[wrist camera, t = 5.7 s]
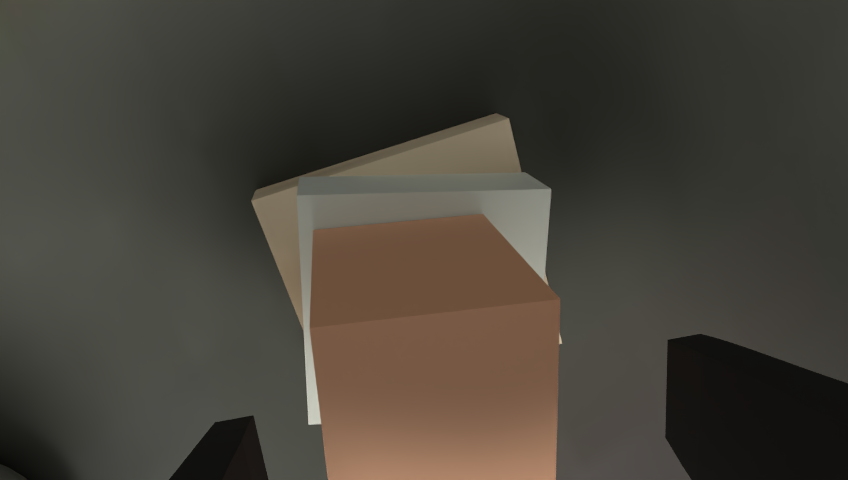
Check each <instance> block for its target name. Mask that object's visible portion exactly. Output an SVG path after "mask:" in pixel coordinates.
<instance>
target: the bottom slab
mask: <svg viewBox="0 0 848 480" xmlns="http://www.w3.org/2000/svg"><path fill="white" fill-rule="evenodd" d="M517 172H521V168H520V163H519V159H518V155H517V151H516V147H515V142H514V138H513V134H512V130H511V125H510V121H509V118H507V117H504V116H502V115H499V114H497V113H495V114H492V115H489V116H486V117H483V118H479V119H476V120H473V121H470V122H467V123H464V124H461V125H458V126H454V127H451V128H448V129H445V130H442V131H439V132H436V133H432V134H429V135H426V136H423V137H420V138H417V139H414V140H411V141H407V142H404V143H401V144H398V145H395V146H392V147H389V148H386V149H382V150H379V151H376V152H373V153H370V154H367V155H364V156H360V157H357V158H354V159H351V160H348V161H345V162H342V163H339V164H335V165H332V166H329V167H326V168H323V169H320V170H317V171H314V172H310V173H307V174H304V175H301V176H298V177H295V178H292V179H289V180H285V181H282V182H279V183H276V184H273V185H270V186H267V187H263V188H260V189H257V190H256V191H255V193H254V195H253V198H252V200H251V202H252V204H253V207H254V209H255V212H256V214H257V217H258V219H259V222H260V224H261V227H262V229H263V232H264V234H265V237H266V239H267V242H268V244H269V246H270V249H271V251H272V254H273V256H274V259H275V261H276V264H277V266H278V269H279V271H280V274H281V276H282V279H283V281H284V284H285V286H286V289H287V291H288V294H289V296H290V298H291V301H292V303H293V306H294V308H295V311H296V313H297V316H298V318H299V321H300V323H301V326H302V328H303V331H304V327H303V308H302V288H301V269H300V250H299V231H298V212H297V189H298V183H299V177H321V176H370V175H419V174H468V173H517ZM544 282H545V283H546V284H547V285H548V282H547V278H546V274H545V277H544ZM561 343H562V341H561V337H560V333H559V344H561Z"/></svg>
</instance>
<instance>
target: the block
mask: <svg viewBox="0 0 848 480" xmlns="http://www.w3.org/2000/svg"><path fill="white" fill-rule="evenodd" d="M309 328H310V337H311V345H312V353H313V361H314V369H315V377H316V385H317V394H318V402H319V410H320V418H321V426H322V434H323V442H324V451H325V459H326V467H327V475H328V480H556V445H557V406H558V368H559V329H560V298H559V297H558V296H557V295H556V294H555V293H554V292H553V291H552V289H551V288H550V287H549V286H548V285H547V284H546V283H545V282H544V281H543V279H542V278H541V277H540V276H539V275H538V274H537V273H536V272H535V271H534V270H533V268H532V267H531V266H530V265H529V264H528V263H527V262H526V261H525V260H524V259H523V257H522V256H521V255H520V254H519V253H518V252H517V251H516V250H515V249H514V247H513V246H512V245H511V244H510V243H509V242H508V241H507V240H506V239H505V238H504V236H503V235H502V234H501V233H500V232H499V231H498V230H497V229H496V228H495V227H494V225H493V224H492V223H491V222H490V221H489V220H488V219H487V218H486V217H485V215H484V214H476V215H465V216H455V217H444V218H434V219H423V220H412V221H402V222H391V223H381V224H370V225H360V226H349V227H338V228H328V229H317V230H313V244H312V272H311V299H310V327H309Z"/></svg>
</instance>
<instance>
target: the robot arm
mask: <svg viewBox="0 0 848 480" xmlns="http://www.w3.org/2000/svg"><path fill="white" fill-rule="evenodd" d="M665 438H666V439H667V441H668V443H669V444H670V446H671V447H672V449H673V451H674V452H675V454H676V456H677V457H678V459H679V461H680V462H681V464H682V466H683V467H684V469H685V470H686V472H687V473H688V475H689V476H690V478H691V479H692V480H848V383H845V382H842V381H839V380H836V379H833V378H830V377H827V376H824V375H821V374H819V373H816V372H813V371H810V370H807V369H804V368H801V367H799V366H796V365H793V364H790V363H787V362H785V361H782V360H779V359H776V358H773V357H771V356H768V355H765V354H762V353H759V352H757V351H754V350H751V349H748V348H745V347H742V346H739V345H736V344H733V343H730V342H727V341H724V340H721V339H717V338H714V337H710V336H706V335H702V334H697V335H692V336H686V337H681V338H675V339H670V340H668V352H667V394H666V436H665ZM169 480H268V476H267V472H266V468H265V464H264V459H263V455H262V451H261V446H260V442H259V438H258V434H257V429H256V425H255V421H254V417H253V416H248V417H242V418H237V419H231V420H226V421H220V422H215V423H214V425H213V426H212V427H211V428H210V429H209V430H208V432H207V433H206V434H205V435H204V437H203V438H202V439H201V440H200V442H199V443H198V444H197V445H196V447H195V448H194V449H193V450H192V452H191V453H190V454H189V455H188V457H187V458H186V459H185V460H184V462H183V463H182V464H181V465H180V467H179V468H178V469H177V470H176V472H175V473H174V474H173V476H172V477H171V478H170V479H169Z"/></svg>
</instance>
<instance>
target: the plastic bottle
mask: <svg viewBox="0 0 848 480" xmlns="http://www.w3.org/2000/svg"><path fill="white" fill-rule="evenodd" d="M0 480H27V479H26V478H25V477H23V476H22V475H20V474H18V473H17V472H15V471H13V470H12V469H10V468H8V467H6V466H3V465H1V464H0Z"/></svg>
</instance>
